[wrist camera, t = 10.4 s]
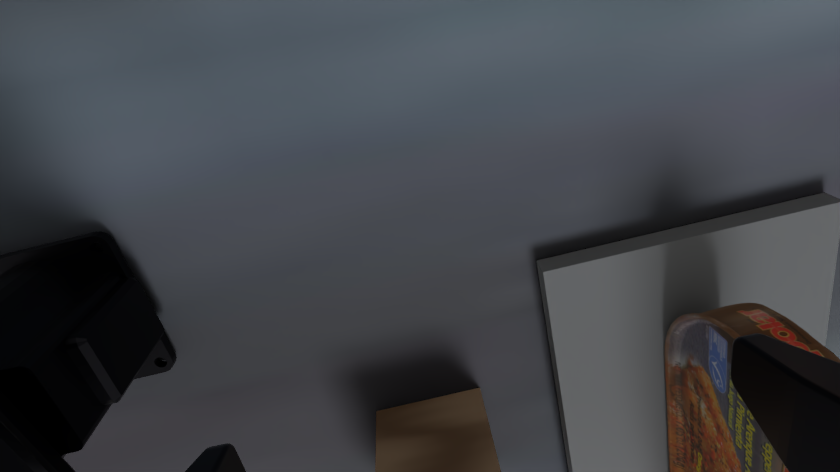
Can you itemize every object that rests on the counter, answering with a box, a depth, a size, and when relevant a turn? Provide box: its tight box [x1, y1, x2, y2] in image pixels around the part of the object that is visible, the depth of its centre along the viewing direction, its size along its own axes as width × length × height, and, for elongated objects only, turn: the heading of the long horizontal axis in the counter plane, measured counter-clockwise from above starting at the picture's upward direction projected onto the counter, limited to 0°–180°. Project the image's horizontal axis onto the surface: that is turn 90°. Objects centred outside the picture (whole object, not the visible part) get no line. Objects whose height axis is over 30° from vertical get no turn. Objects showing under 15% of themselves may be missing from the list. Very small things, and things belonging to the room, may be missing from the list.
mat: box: [536, 193, 840, 472], centre depth 25 cm, size 12×19×1 cm, turn 13°
